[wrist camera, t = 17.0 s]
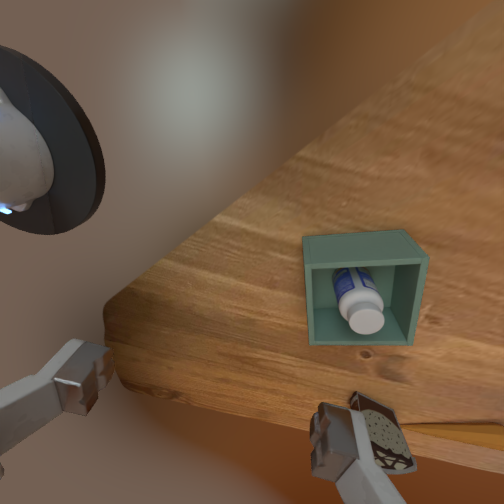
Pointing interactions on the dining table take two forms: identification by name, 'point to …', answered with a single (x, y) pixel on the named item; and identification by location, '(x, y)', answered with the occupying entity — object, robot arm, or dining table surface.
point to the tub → (383, 274)
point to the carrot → (464, 433)
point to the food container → (385, 435)
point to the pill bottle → (358, 299)
